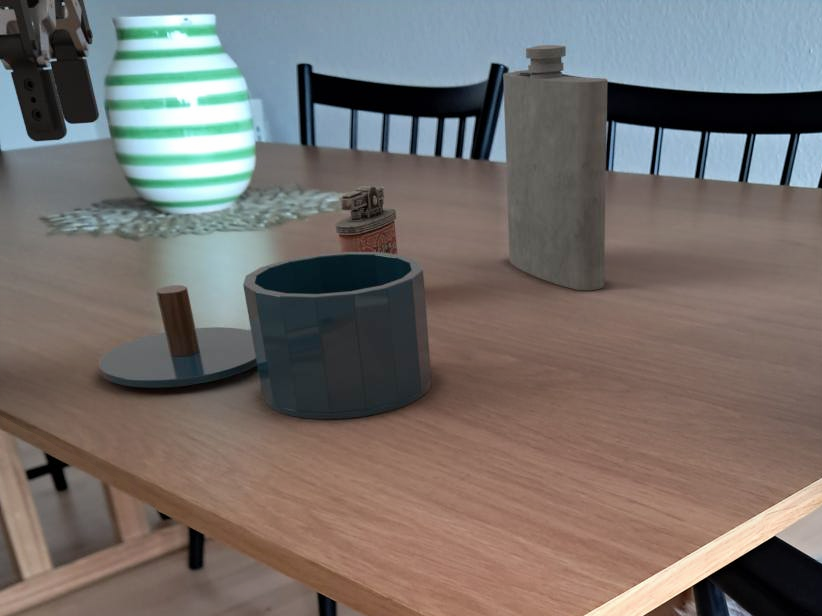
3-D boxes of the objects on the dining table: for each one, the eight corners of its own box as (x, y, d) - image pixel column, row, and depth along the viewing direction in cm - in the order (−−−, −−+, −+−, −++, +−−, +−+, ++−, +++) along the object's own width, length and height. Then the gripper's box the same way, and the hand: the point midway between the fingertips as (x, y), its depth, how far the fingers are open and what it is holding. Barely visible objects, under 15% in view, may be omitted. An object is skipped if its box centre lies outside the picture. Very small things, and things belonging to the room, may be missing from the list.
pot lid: (87, 402, 77) (64, 320, 73) (118, 348, 88) (99, 275, 85) (267, 386, 78) (253, 304, 74) (274, 335, 89) (263, 262, 86)
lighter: (381, 287, 101) (370, 178, 96) (410, 289, 100) (400, 179, 94) (337, 309, 95) (322, 194, 90) (368, 311, 94) (355, 196, 88)
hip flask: (610, 286, 97) (615, 45, 86) (573, 294, 95) (574, 49, 84) (530, 256, 109) (525, 41, 98) (496, 261, 107) (488, 44, 96)
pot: (259, 426, 71) (237, 303, 66) (268, 369, 81) (250, 259, 76) (438, 410, 72) (428, 287, 67) (424, 355, 82) (415, 246, 77)
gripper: (-38, -173, 62) (39, 122, 71) (-137, -209, 50) (-30, 150, 59) (85, -179, 62) (146, 114, 71) (16, -217, 50) (100, 142, 59)
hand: (67, 130), depth 65 cm, fingers open, 8 cm apart
